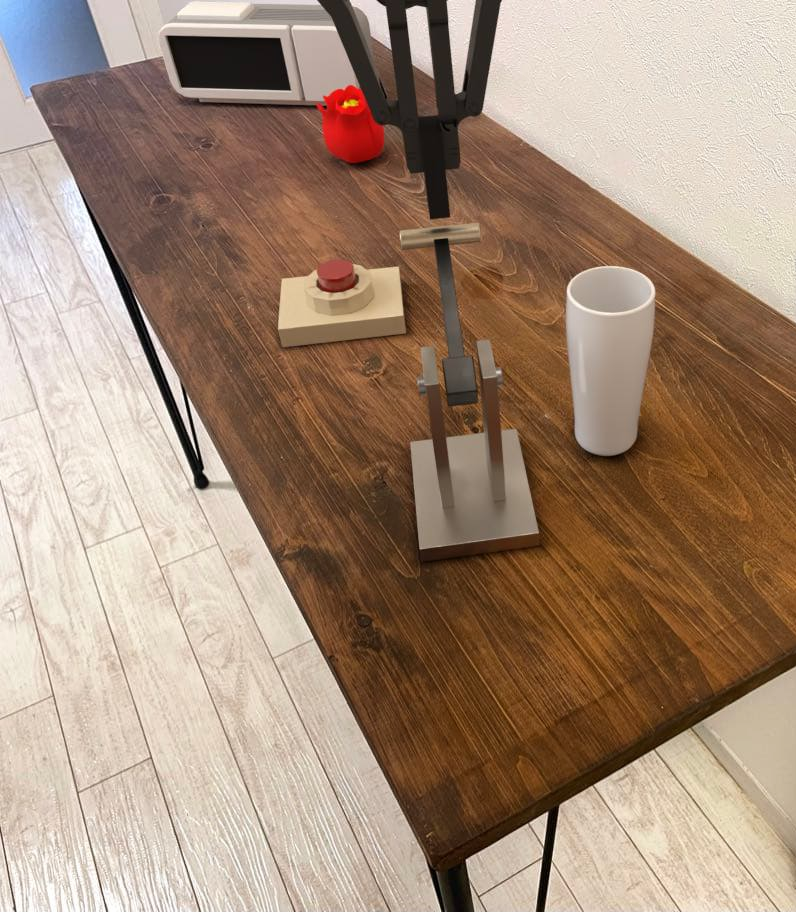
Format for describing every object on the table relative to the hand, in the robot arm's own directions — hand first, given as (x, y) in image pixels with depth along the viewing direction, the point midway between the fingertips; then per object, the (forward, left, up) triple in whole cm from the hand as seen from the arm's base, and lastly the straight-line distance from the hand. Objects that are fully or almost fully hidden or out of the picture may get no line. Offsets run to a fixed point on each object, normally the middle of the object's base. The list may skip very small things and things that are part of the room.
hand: (438, 209), depth 68 cm
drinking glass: (+12, -6, -20) cm, 24 cm away
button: (-10, +17, -16) cm, 26 cm away
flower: (-8, +52, -20) cm, 57 cm away
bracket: (0, -11, -20) cm, 23 cm away
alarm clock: (-19, +75, -20) cm, 80 cm away
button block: (-10, +17, -20) cm, 28 cm away
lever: (0, -5, -6) cm, 8 cm away
